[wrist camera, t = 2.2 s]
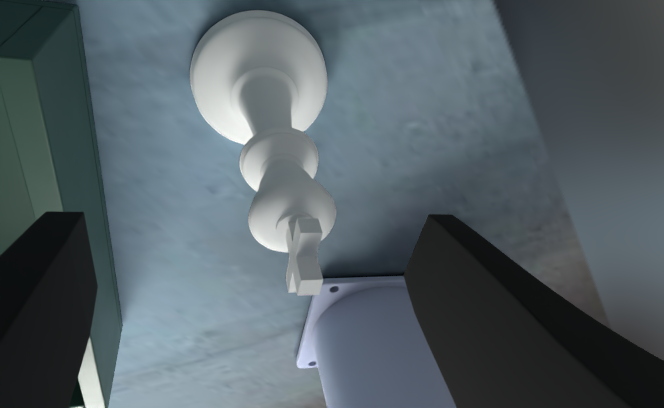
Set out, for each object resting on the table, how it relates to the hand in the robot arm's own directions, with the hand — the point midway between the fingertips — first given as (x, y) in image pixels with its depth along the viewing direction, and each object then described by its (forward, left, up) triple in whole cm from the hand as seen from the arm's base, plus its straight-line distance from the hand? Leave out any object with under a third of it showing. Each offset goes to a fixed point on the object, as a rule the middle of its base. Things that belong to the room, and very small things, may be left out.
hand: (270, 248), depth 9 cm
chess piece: (-1, 0, -9) cm, 9 cm away
